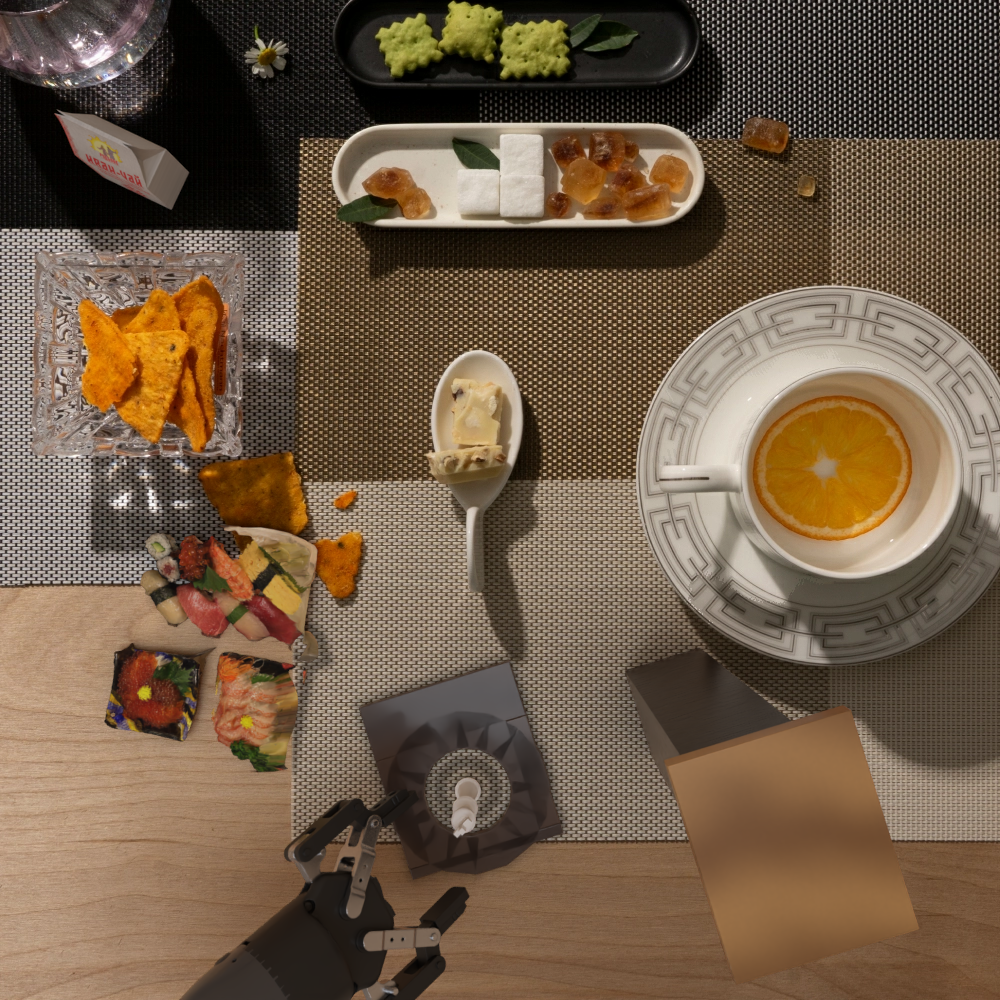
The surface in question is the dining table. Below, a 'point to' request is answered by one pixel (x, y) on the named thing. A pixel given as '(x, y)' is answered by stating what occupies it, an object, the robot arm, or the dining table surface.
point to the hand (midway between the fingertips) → (436, 842)
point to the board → (450, 727)
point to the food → (235, 599)
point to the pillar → (694, 705)
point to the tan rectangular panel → (791, 844)
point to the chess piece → (465, 806)
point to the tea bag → (125, 157)
